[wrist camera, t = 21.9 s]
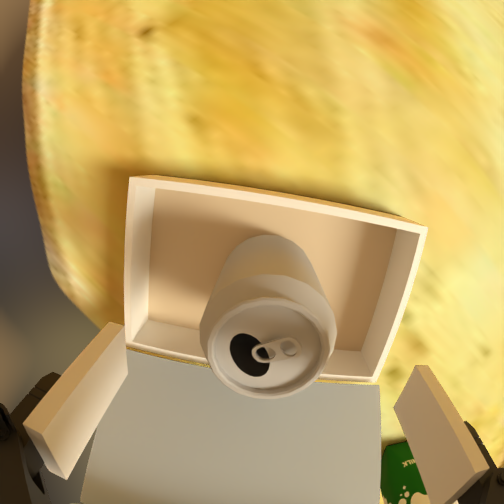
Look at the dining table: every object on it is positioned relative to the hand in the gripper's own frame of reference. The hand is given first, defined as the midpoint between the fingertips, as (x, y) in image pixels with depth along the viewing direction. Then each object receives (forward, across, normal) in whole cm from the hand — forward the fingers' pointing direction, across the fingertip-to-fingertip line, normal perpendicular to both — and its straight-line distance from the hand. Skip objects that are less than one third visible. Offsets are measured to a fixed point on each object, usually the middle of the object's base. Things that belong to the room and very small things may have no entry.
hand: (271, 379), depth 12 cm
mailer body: (+15, 0, -1) cm, 15 cm away
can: (+14, 0, -1) cm, 14 cm away
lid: (+2, 0, -9) cm, 10 cm away
